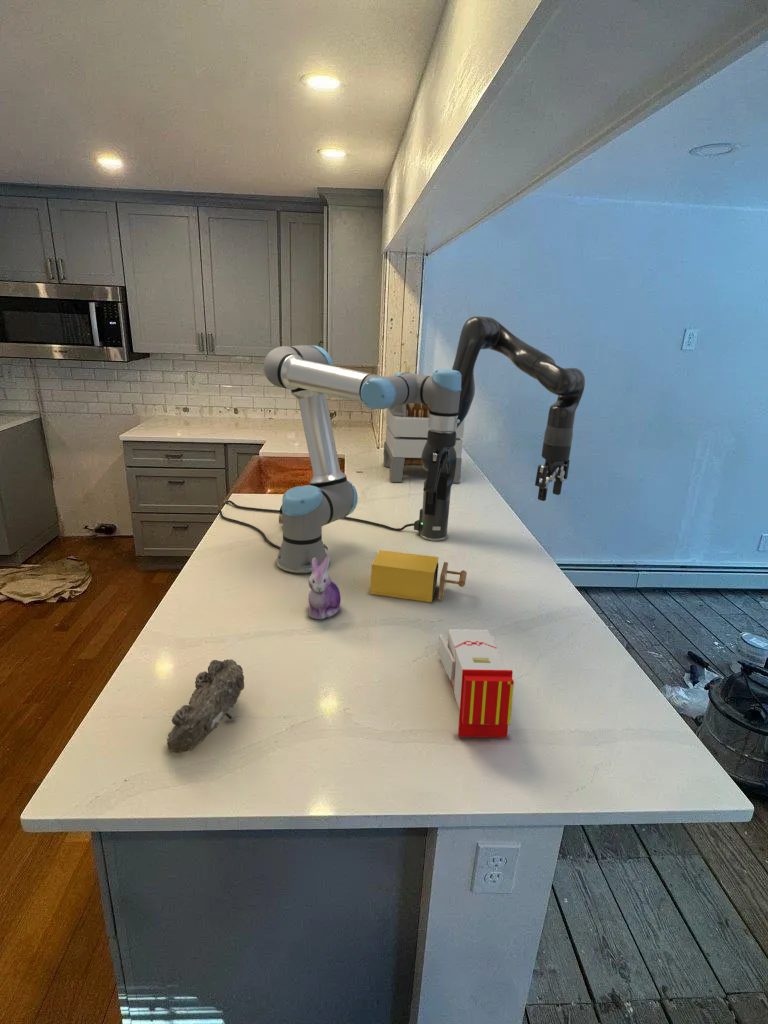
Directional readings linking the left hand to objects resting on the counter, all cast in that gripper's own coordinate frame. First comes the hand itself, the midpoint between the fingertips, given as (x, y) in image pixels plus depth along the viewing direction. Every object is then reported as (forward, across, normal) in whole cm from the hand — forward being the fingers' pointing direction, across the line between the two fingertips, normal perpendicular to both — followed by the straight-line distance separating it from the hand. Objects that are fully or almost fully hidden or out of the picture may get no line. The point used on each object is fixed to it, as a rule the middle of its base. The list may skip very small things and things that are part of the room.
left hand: (435, 506), depth 156 cm
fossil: (+24, -70, +26) cm, 78 cm away
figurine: (+24, -26, +22) cm, 41 cm away
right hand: (-2, +18, -29) cm, 34 cm away
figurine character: (+25, +28, +58) cm, 69 cm away
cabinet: (+24, -6, +6) cm, 25 cm away
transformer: (+25, +114, +32) cm, 120 cm away
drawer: (+23, -5, 0) cm, 24 cm away
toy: (+24, -45, -20) cm, 54 cm away
